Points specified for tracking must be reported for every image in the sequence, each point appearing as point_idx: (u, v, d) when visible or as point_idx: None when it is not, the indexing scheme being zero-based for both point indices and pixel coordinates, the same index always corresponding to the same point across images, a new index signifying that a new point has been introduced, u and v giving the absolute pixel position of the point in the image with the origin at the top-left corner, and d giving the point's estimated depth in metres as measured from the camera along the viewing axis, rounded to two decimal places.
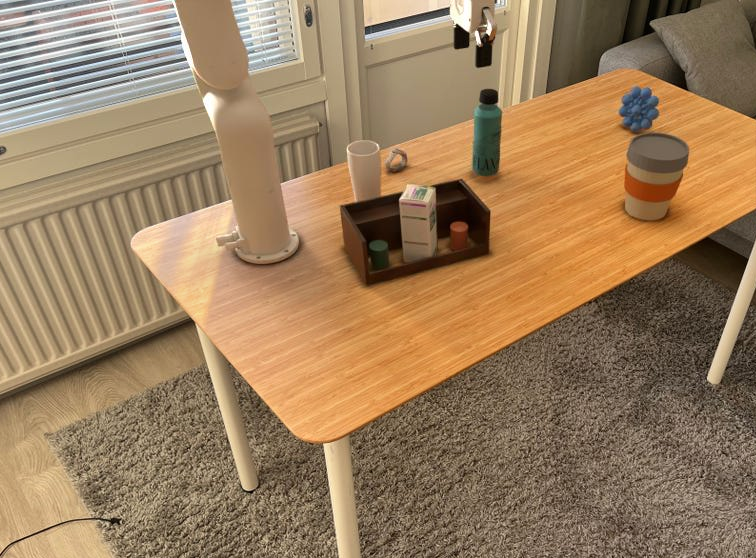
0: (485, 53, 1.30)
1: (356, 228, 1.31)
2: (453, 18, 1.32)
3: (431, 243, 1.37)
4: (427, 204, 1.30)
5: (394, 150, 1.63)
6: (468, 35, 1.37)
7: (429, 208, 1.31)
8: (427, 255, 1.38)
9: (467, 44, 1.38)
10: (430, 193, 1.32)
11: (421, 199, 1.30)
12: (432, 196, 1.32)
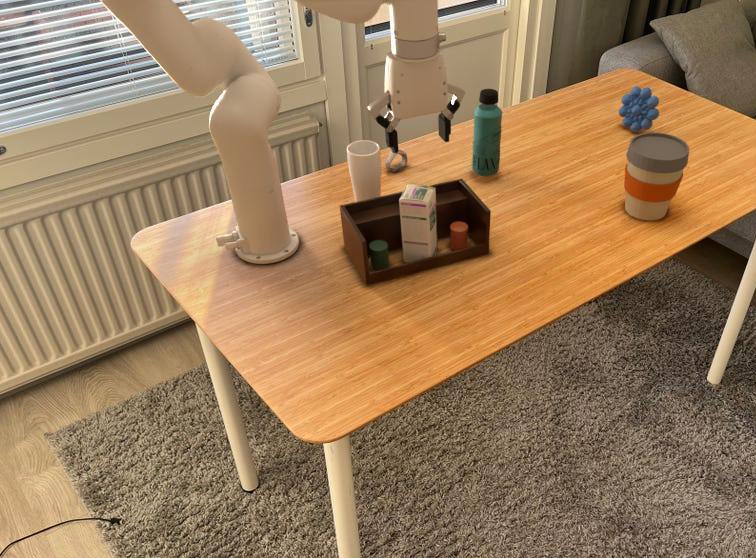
0: (386, 136, 1.22)
1: (356, 228, 1.31)
2: None
3: (431, 243, 1.37)
4: (427, 204, 1.30)
5: None
6: (444, 129, 1.24)
7: (429, 208, 1.31)
8: (427, 255, 1.38)
9: (444, 138, 1.25)
10: (430, 193, 1.32)
11: (421, 199, 1.30)
12: (432, 196, 1.32)
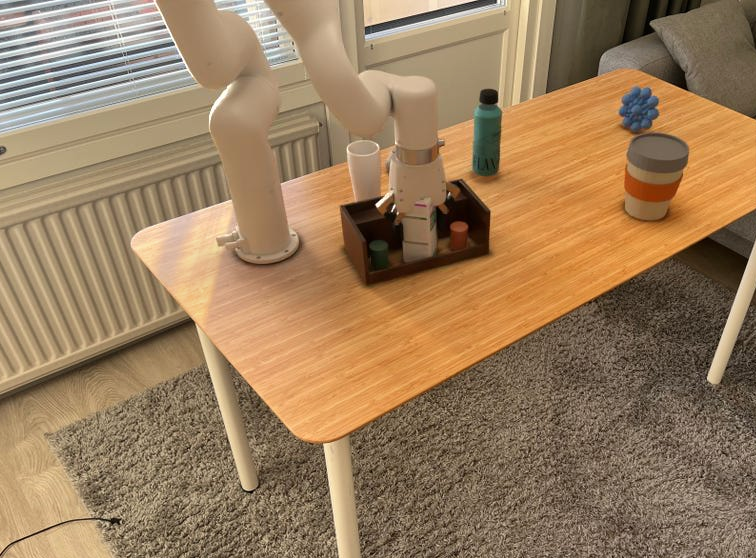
0: (393, 227, 1.34)
1: (356, 228, 1.31)
2: None
3: (431, 243, 1.37)
4: (427, 204, 1.30)
5: (394, 150, 1.63)
6: (440, 221, 1.36)
7: (429, 208, 1.31)
8: (427, 255, 1.38)
9: (440, 228, 1.38)
10: None
11: (421, 199, 1.30)
12: None
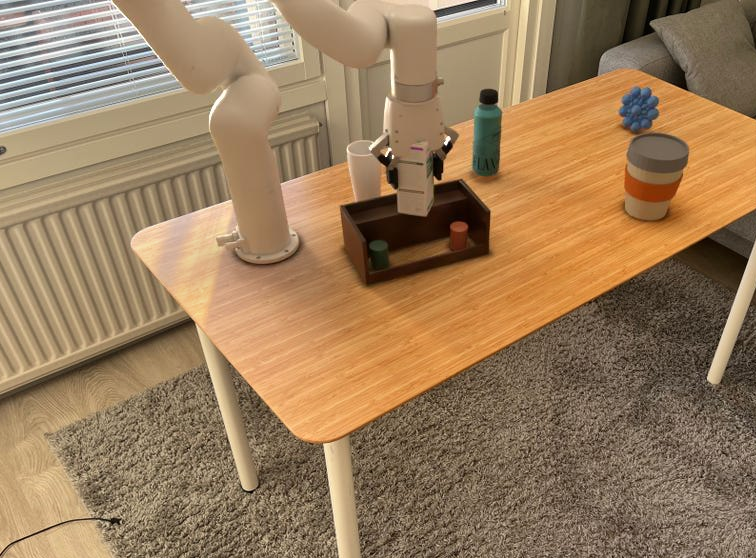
0: (387, 173, 1.26)
1: (356, 228, 1.31)
2: None
3: (427, 192, 1.29)
4: (424, 147, 1.22)
5: None
6: (437, 169, 1.29)
7: (426, 152, 1.23)
8: (423, 205, 1.30)
9: (437, 176, 1.30)
10: None
11: (418, 142, 1.22)
12: None
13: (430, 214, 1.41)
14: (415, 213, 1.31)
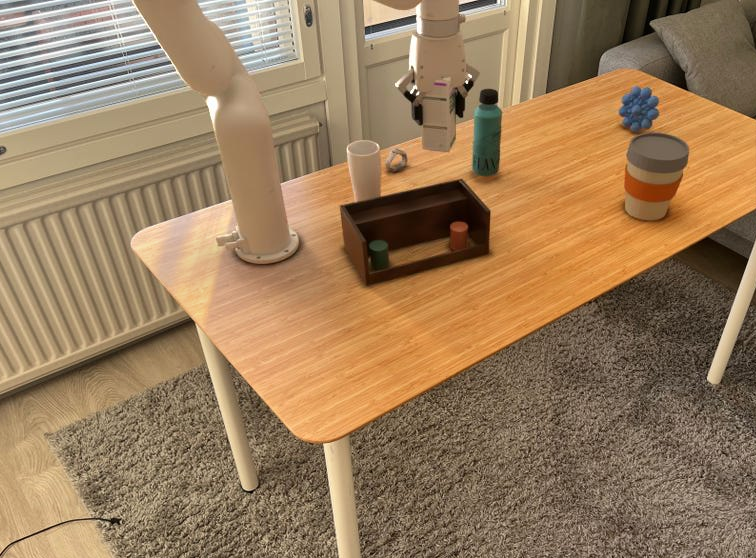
0: (412, 109, 1.35)
1: (356, 228, 1.31)
2: None
3: (450, 128, 1.37)
4: (447, 83, 1.30)
5: (394, 150, 1.63)
6: (459, 106, 1.37)
7: (449, 87, 1.31)
8: (446, 141, 1.38)
9: (459, 114, 1.38)
10: None
11: (441, 78, 1.30)
12: None
13: (430, 214, 1.41)
14: (438, 149, 1.39)
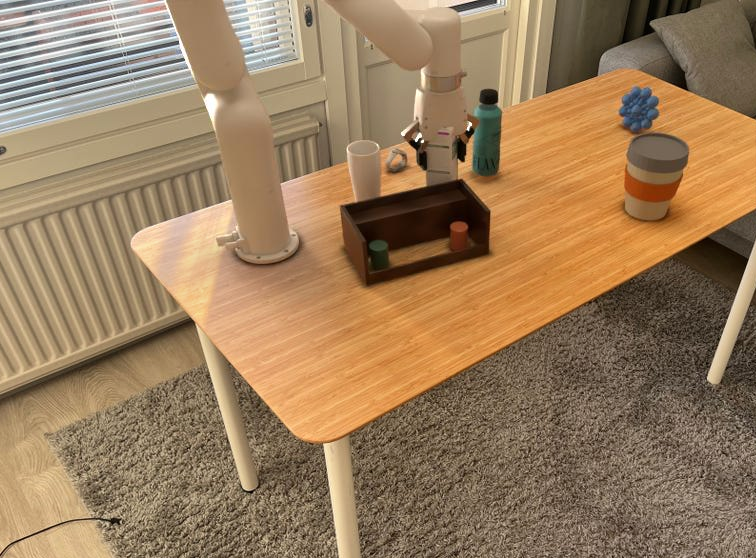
0: (417, 156, 1.43)
1: (356, 228, 1.31)
2: None
3: (453, 172, 1.46)
4: (450, 132, 1.39)
5: (394, 150, 1.63)
6: (461, 152, 1.46)
7: (452, 136, 1.40)
8: None
9: (460, 159, 1.47)
10: None
11: (444, 127, 1.39)
12: None
13: (430, 214, 1.41)
14: None
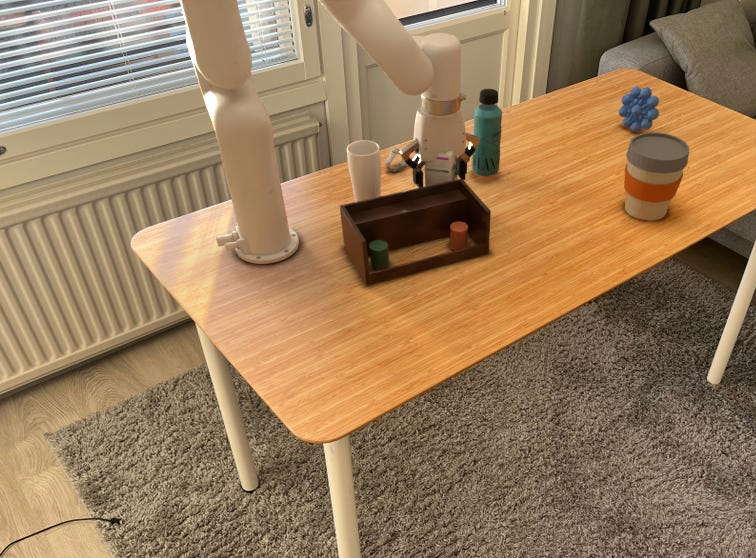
0: (414, 175, 1.46)
1: (356, 228, 1.31)
2: None
3: None
4: (450, 157, 1.42)
5: (394, 150, 1.63)
6: (461, 170, 1.49)
7: (451, 161, 1.44)
8: None
9: (461, 176, 1.50)
10: None
11: (444, 153, 1.43)
12: None
13: (430, 214, 1.41)
14: None
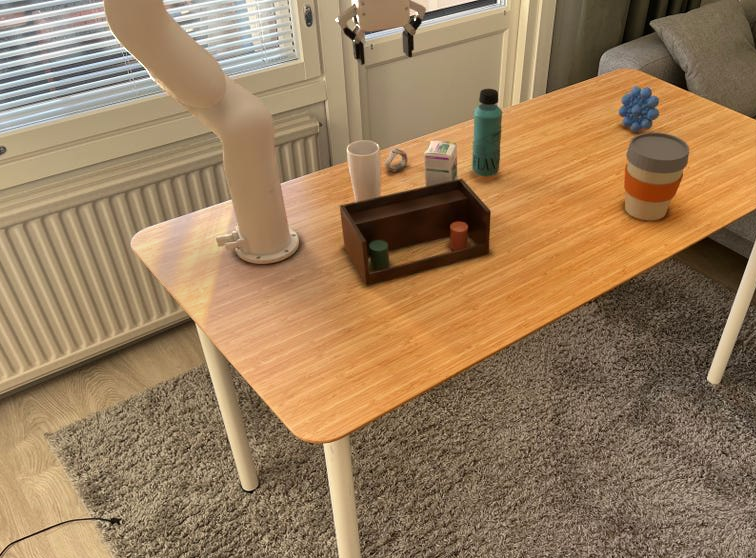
0: (354, 48, 1.33)
1: (356, 228, 1.31)
2: None
3: None
4: (450, 157, 1.42)
5: (394, 150, 1.63)
6: (407, 44, 1.36)
7: (451, 161, 1.44)
8: None
9: (407, 53, 1.37)
10: (452, 148, 1.44)
11: (444, 153, 1.43)
12: (454, 150, 1.45)
13: (430, 214, 1.41)
14: None
